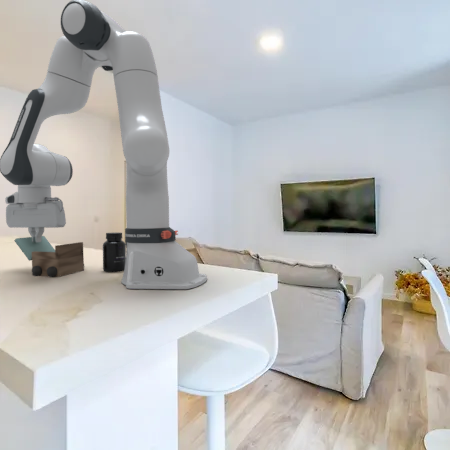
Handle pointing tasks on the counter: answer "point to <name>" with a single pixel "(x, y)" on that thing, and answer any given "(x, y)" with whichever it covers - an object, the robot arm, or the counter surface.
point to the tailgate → (33, 246)
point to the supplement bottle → (114, 253)
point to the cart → (59, 261)
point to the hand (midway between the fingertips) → (36, 242)
